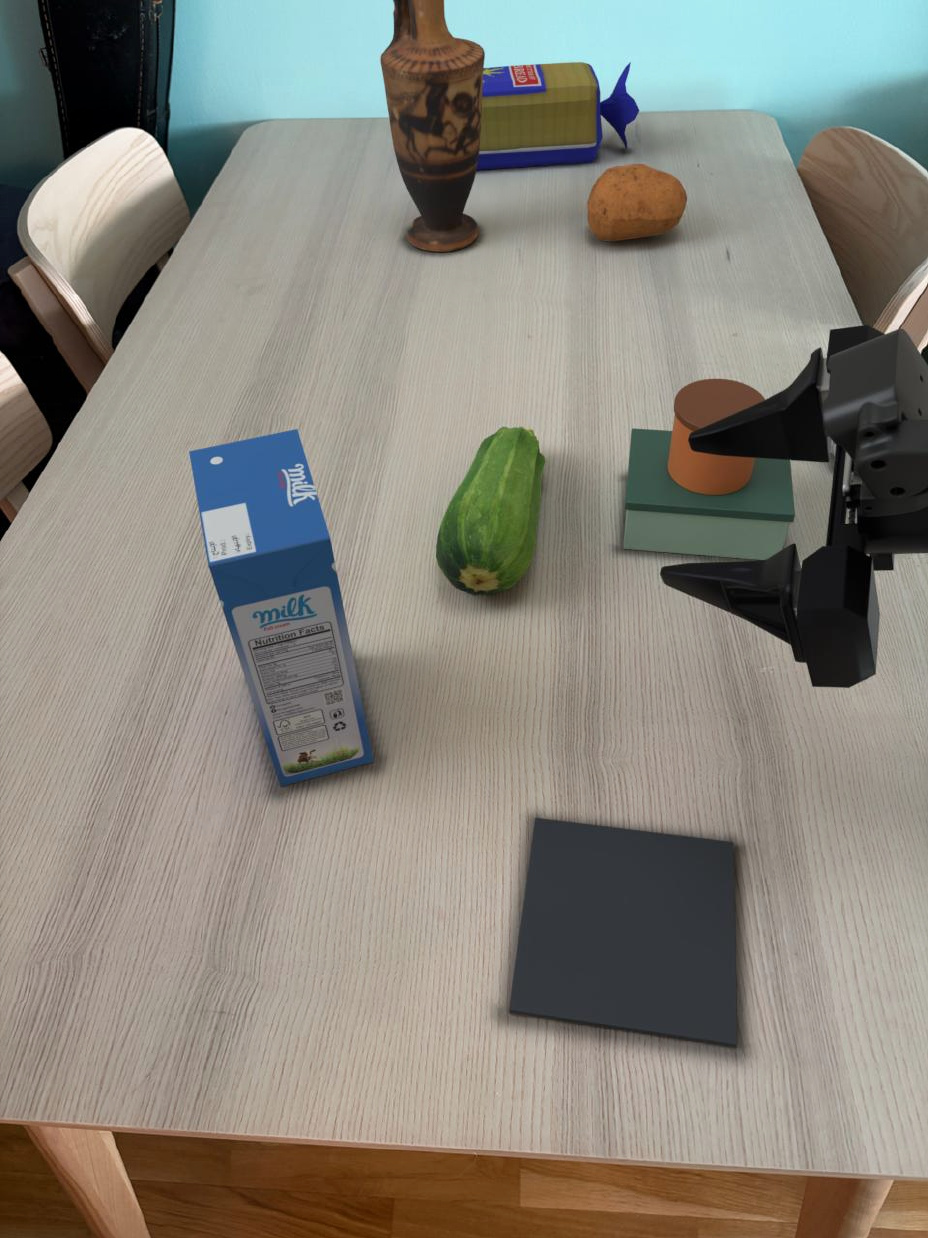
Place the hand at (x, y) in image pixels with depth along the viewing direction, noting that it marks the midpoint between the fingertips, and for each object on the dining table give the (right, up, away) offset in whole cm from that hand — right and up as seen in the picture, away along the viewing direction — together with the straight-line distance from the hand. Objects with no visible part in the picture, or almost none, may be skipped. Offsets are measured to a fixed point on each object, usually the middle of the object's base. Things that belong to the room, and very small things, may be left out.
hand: (676, 506), depth 52 cm
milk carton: (-22, -13, +15) cm, 30 cm away
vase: (-14, +39, +63) cm, 76 cm away
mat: (-2, -24, +4) cm, 24 cm away
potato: (+9, +39, +62) cm, 73 cm away
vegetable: (-8, +1, +28) cm, 29 cm away
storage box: (+8, +2, +28) cm, 29 cm away
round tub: (+8, +6, +24) cm, 26 cm away
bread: (-2, +56, +78) cm, 96 cm away
